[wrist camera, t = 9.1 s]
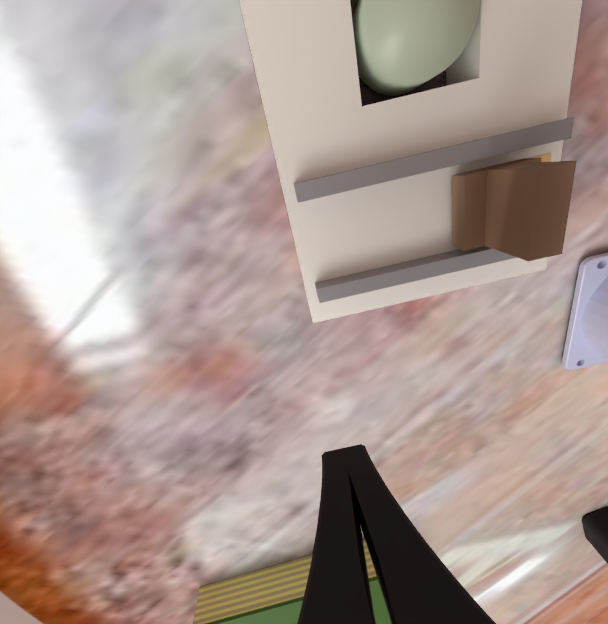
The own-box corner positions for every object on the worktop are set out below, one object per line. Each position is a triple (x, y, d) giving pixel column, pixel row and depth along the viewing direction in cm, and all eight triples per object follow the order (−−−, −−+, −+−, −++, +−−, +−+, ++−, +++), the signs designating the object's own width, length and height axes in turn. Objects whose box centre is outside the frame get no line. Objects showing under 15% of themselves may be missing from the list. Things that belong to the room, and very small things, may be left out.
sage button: (444, -43, 12) (483, -92, 9) (446, 83, 13) (478, 66, 11) (342, -17, 12) (357, -60, 9) (356, 105, 13) (371, 92, 11)
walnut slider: (522, 158, 13) (604, 154, 9) (516, 230, 14) (587, 247, 11) (451, 175, 13) (509, 176, 9) (451, 245, 14) (503, 267, 11)
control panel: (574, -524, 8) (755, -946, 5) (511, 256, 18) (560, 274, 14) (145, -406, 8) (69, -741, 5) (308, 303, 18) (315, 331, 15)
